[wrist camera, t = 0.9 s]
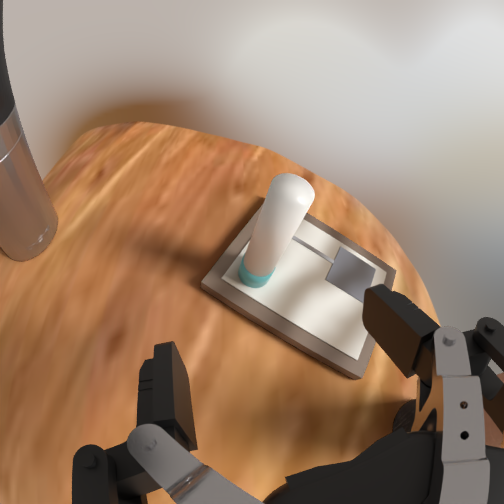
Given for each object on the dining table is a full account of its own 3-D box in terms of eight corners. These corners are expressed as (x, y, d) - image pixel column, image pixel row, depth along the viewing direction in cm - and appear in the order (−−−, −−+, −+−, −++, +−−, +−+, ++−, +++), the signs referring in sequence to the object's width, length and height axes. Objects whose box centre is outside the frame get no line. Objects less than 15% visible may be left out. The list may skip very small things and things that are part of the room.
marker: (232, 276, 30) (261, 190, 19) (248, 254, 31) (282, 165, 21) (259, 294, 29) (305, 216, 18) (274, 270, 31) (322, 188, 20)
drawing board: (200, 287, 30) (201, 280, 29) (269, 199, 39) (272, 190, 37) (355, 380, 28) (363, 377, 26) (390, 275, 36) (397, 269, 35)
